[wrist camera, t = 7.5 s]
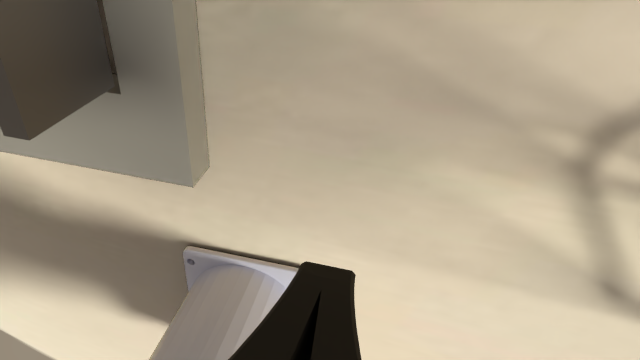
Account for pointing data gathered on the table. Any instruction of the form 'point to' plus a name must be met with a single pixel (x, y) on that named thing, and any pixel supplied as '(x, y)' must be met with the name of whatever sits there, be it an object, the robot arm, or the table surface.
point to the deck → (138, 101)
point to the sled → (49, 62)
